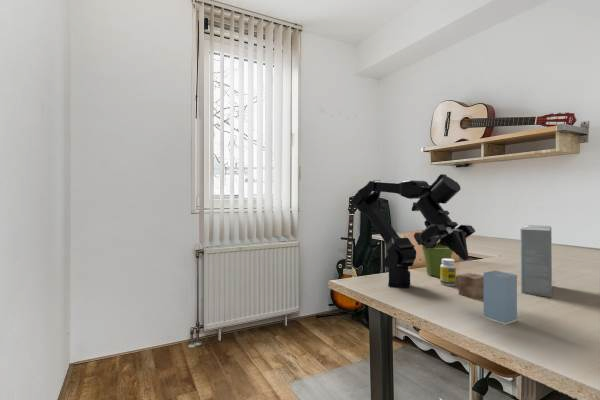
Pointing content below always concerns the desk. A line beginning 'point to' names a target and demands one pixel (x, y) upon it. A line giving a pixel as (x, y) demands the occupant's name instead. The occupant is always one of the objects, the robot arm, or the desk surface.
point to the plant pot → (435, 258)
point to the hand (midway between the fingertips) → (466, 259)
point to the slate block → (500, 296)
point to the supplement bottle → (448, 272)
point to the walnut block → (471, 285)
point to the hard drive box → (536, 260)
